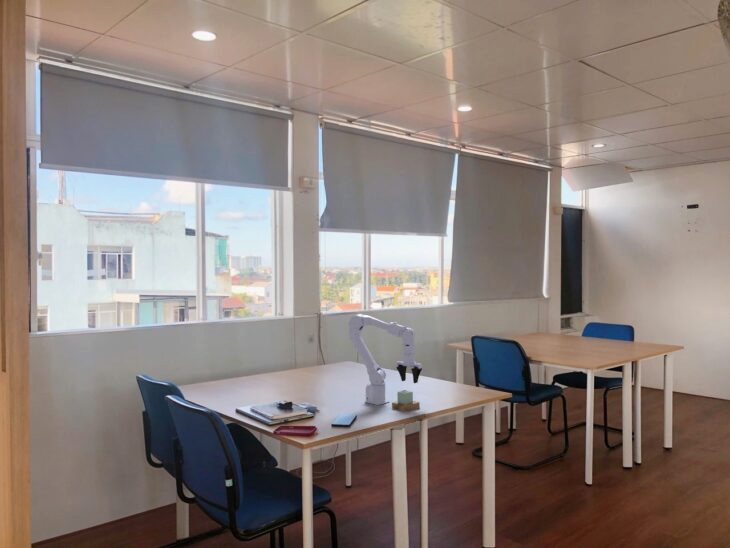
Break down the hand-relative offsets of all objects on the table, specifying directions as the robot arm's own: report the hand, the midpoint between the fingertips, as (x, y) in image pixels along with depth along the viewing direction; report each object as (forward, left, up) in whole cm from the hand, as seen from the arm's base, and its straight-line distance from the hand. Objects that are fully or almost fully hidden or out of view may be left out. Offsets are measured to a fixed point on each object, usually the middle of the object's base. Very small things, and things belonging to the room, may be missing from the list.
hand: (409, 381), depth 277 cm
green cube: (+4, -7, -8) cm, 11 cm away
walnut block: (+4, -7, -11) cm, 14 cm away
